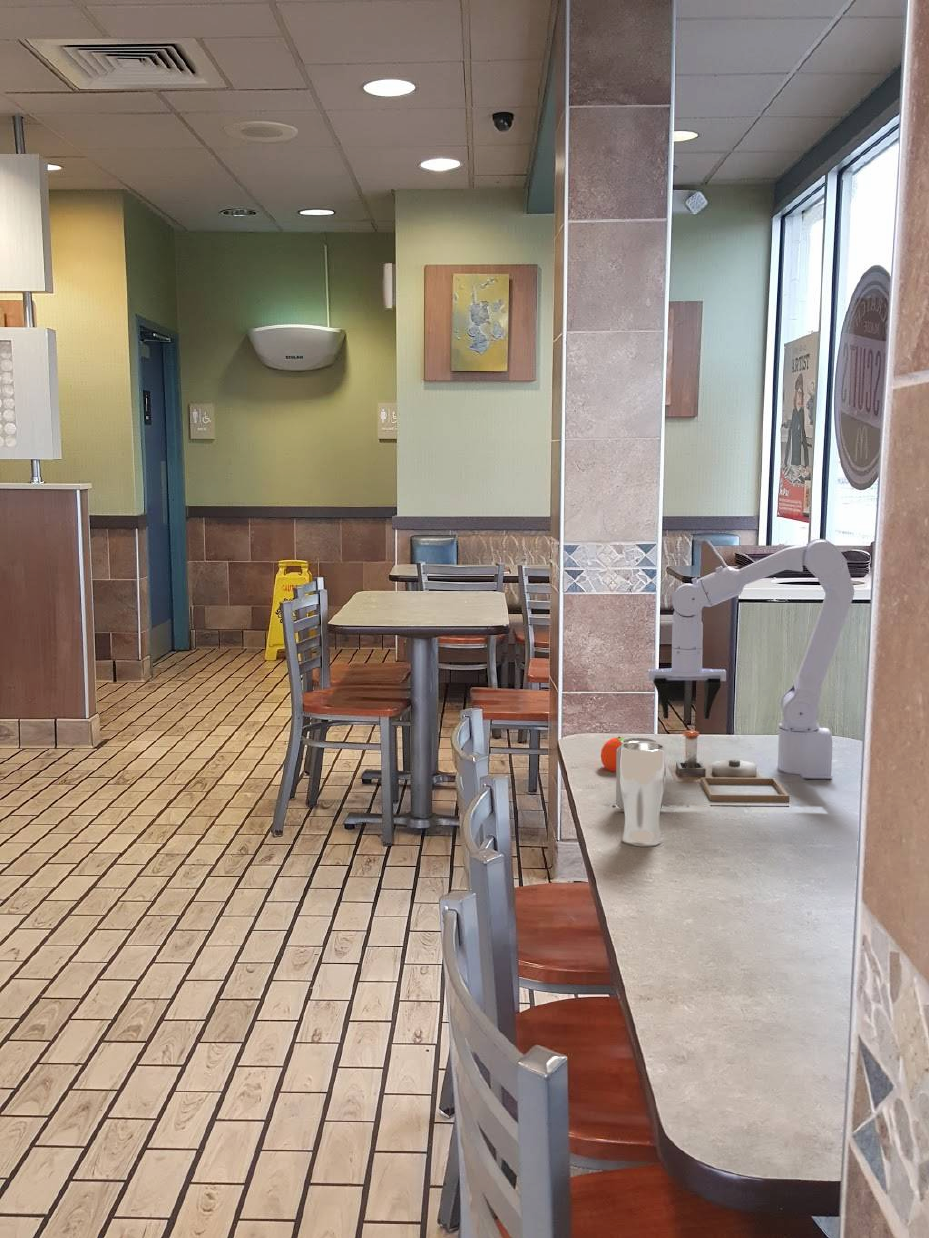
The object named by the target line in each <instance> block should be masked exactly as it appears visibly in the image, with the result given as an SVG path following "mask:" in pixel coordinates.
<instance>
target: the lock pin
mask: <svg viewBox="0 0 929 1238" xmlns="http://www.w3.org/2000/svg"><path fill="white" fill-rule="evenodd" d="M683 736H684V739H685V740H684V741H685V742H684V762H685V768H697V762H698V737H699V736H700V732H699V731H698V730H684V731H683Z"/></svg>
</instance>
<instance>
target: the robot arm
mask: <svg viewBox="0 0 929 1238" xmlns="http://www.w3.org/2000/svg"><path fill="white" fill-rule="evenodd" d="M804 566H805V568H806V569H807V570H808V571H809V572H810V574H812V575H813V576H814V577H815V578H816V579H817V581H818V582H819V584H820V585H821V586H820V587H821V588H822V589H823V591H824V593H825V595H824V599H823V601H822V604H821V607H820V610H819V613H818V616H817V617H816V620H815V624H814V626H813V630H812V632H811V635H810V638H809V641H808V644H807V646H806V649H805V651H804V655H803V657H802V658H803V659H802V661H801V664H800V666H799V669H798V671H797V674H796V676H795V677H794V679H793V682H792V684H791V687H789V689H787V691H786V692H785V693H784V694H783V696H782V698H781V700H780V706H781V710H782V716H783V719H782V720H781V721H780V722H779V723H778V744H777V745H778V749H777V751H778V752H777V769H778V770H780V771H781V772H785V773H788V774H796V775H797V774H798V775H799V776H801V777H802V779H818V780H819V779H824V780H825V779H828V780H829V779H830V780H831V779H833V775H832V771H833V770H832V769H833V768H832V767H833V736H832V732H831V730H830V729H829V727H821V726H820V724H819V723H818V720H819V716H820V715H819V714H820V713H819V712H820V711H819V707H818V706H819V701H820V697H821V694H822V689H823V687H822V686H823V683H824V679H825V677H826V675H827V671H828V669H829V666H830V663H831V660H832V658H833V656H834V655H833V654H834V653H835V649H836V646H837V644H838V641H839V638H840V635H841V632H842V629H843V626H844V624H845V622H846V618H847V616H848V613H849V610H850V607H851V604H852V602H853V599H854V596H855V588H854V584H853V580H852V576H851V574H850V570H849V567H848V562H847V559H846V557H845V556H844V555H843V553H842V552H841V550H840V549H839V548H838V546H836V545H835V544H834V543H832V542H831V541H830V540H827V539H823V538H815V539H812V540H810V541H809V542H807V543H806V542H802V543H799V544H798V543H797V544H794V545H792V546H788V547H786V548H784V549H781V550H778V551H776V552H775V553H772V554H770V555H768V556H766V557H763V558H761V559H760V560H756V561H755V562H753V563H751V564H748V565H746V566H743V567H742V568H739V569H736V568H734V567H732V566H729V565H728V566H725V567H723V566H722V565H720V566H718V567H715V571H714V572H712V573H710V574H707V575H704V576H702V577H700V578H698V577H693V578H692V579H691V582H692V583H683V584H682V585H679V586H678V587H677V588H676V589H675V591H674V593H673V595H672V598H671V604H672V607H673V609H674V611H673V614H672V619H673V622H672V625H671V629H672V631H671V632H672V633H671V634H672V635H671V667H670V668H668V667H667V668H649V669H647V680H648V681H649V682H653V684H654V686H655V689H656V691H657V695H658V697H659V700H660V703H661V707H662V717H663V718H664V719H669V684H668V683H669V681H704V682H703V684H704V685H703V686H704V702H703V704H704V705H703V718H704V719H705V720H706V719H707V720H708V719H710V715H711V714H710V713H711V710H712V706H713V704H714V700H715V699H716V696H717V695H718V693H719V691H720V688H721V685H722V683H721V682H726V681H727V671H726V669H724V668H723V669H719V668H718V669H717V668H714V669H713V668H703V653H704V652H703V644H704V643H703V639H704V637H703V635H704V624H703V622H702V612H703V611H702V610H703V608H704V607H707V608H710V607H713V606H716V605H718V604H720V603H724V602H725V601H728V600H730V599H733V598H735V597H738V596H740V595H741V594H742V592H743V590H744V588H745V586H746V585H749V584H752V583H754V582H757V581H759V580H762V579H764V578H768V577H770V576H773V575H775V574H779V573H780V572H781V573H782V572H783V571H792V572H793V571H795V572H804V568H803V567H804Z"/></svg>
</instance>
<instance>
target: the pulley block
mask: <svg viewBox="0 0 929 1238" xmlns="http://www.w3.org/2000/svg"><path fill="white" fill-rule="evenodd" d="M667 767H668V769H669V771H670V773H671V775H672V777H673V780H674V782H675V783H701V777H720V778H763V777H762V776H761V775H760V773H759V772H758V768H757V765H756V764H755V763H753V762H750V761H746V760H741V759H740V760H739V759H722V760H717V761H713V762H712V763H711V764H707V765H706V764H703V762H702V761H700V762H699V761H697V768H685V761H676V762H675V764H667Z"/></svg>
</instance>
